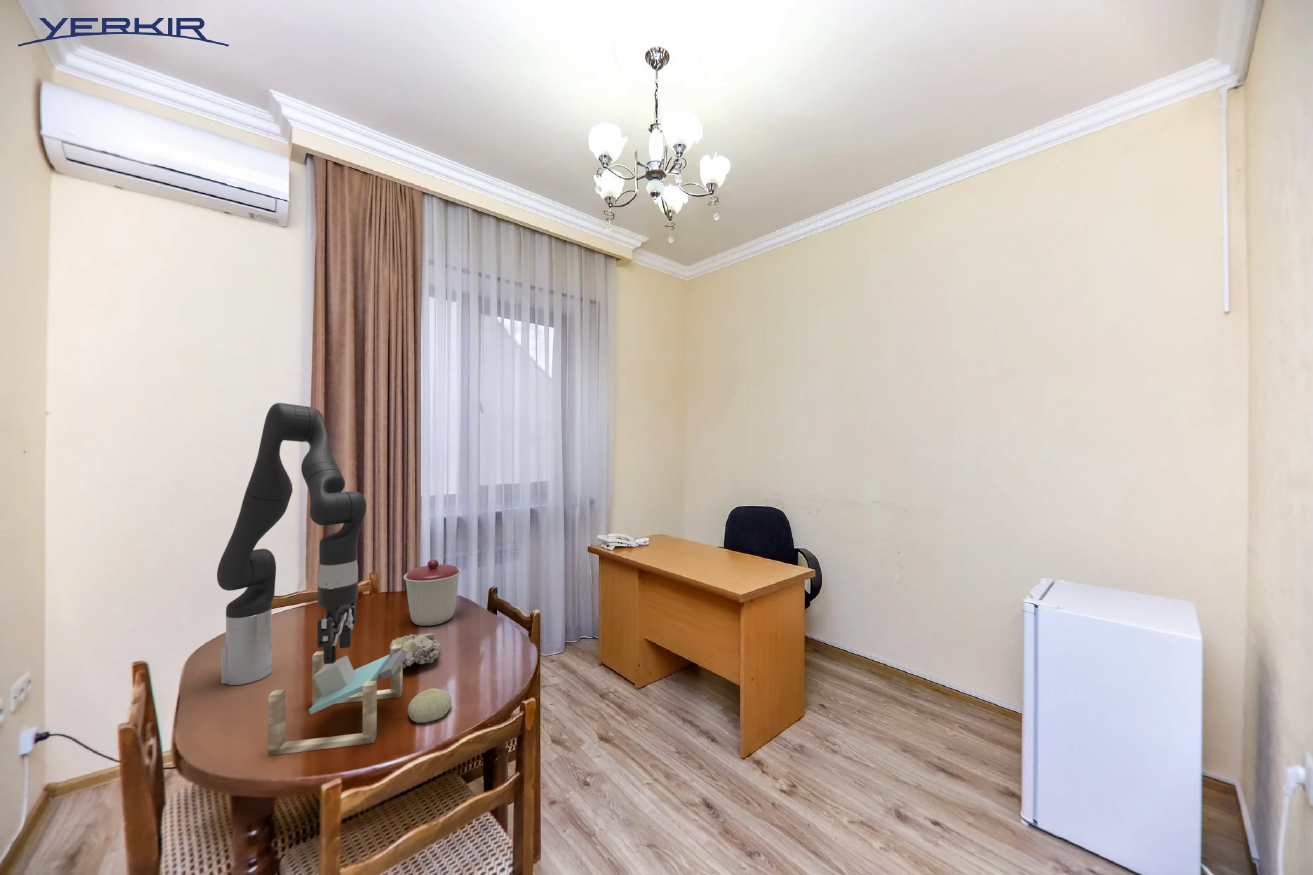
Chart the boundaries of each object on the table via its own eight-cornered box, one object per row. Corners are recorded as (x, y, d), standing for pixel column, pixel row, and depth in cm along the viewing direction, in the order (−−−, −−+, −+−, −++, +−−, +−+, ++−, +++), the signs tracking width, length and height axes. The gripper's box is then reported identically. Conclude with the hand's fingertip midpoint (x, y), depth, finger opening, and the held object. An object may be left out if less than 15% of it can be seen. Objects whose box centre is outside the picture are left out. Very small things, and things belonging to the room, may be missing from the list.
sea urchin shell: (405, 723, 103) (407, 684, 108) (407, 734, 108) (409, 697, 114) (451, 713, 107) (451, 676, 112) (451, 724, 112) (451, 689, 117)
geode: (421, 665, 144) (373, 678, 131) (419, 633, 147) (371, 642, 134) (460, 655, 138) (413, 667, 125) (457, 621, 141) (410, 630, 128)
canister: (468, 621, 165) (468, 560, 165) (411, 635, 153) (412, 570, 153) (450, 607, 179) (451, 551, 179) (397, 619, 167) (397, 559, 167)
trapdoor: (409, 651, 117) (406, 645, 116) (390, 679, 103) (387, 672, 103) (340, 681, 113) (337, 675, 113) (311, 715, 100) (308, 708, 100)
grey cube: (323, 696, 104) (313, 675, 104) (333, 684, 109) (324, 665, 109) (346, 685, 105) (337, 665, 105) (355, 674, 110) (347, 655, 110)
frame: (268, 755, 95) (268, 695, 95) (316, 701, 115) (316, 651, 115) (373, 742, 100) (373, 685, 100) (402, 692, 119) (402, 644, 119)
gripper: (333, 573, 113) (333, 642, 113) (303, 592, 99) (302, 671, 99) (368, 571, 115) (368, 640, 115) (343, 590, 101) (343, 668, 101)
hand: (337, 654), depth 107 cm, fingers open, 7 cm apart
